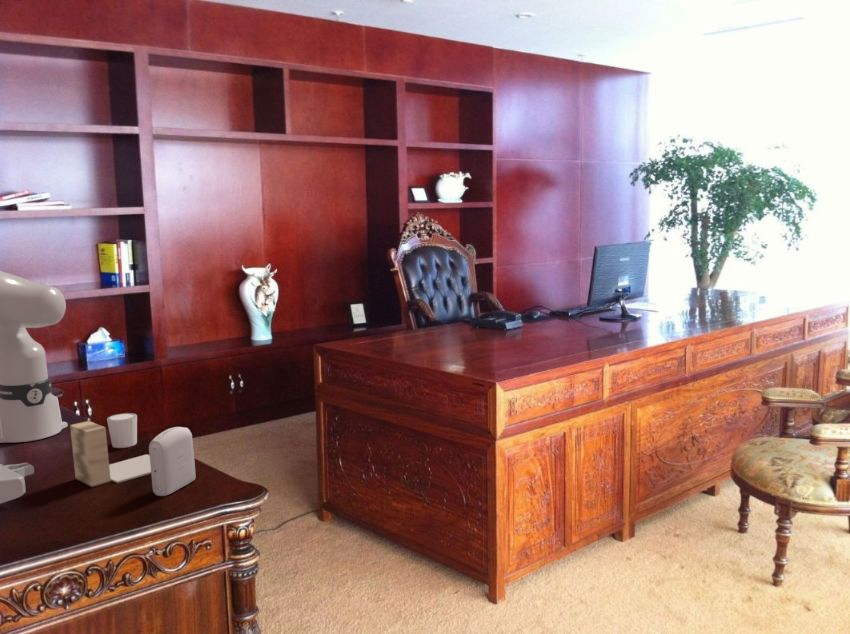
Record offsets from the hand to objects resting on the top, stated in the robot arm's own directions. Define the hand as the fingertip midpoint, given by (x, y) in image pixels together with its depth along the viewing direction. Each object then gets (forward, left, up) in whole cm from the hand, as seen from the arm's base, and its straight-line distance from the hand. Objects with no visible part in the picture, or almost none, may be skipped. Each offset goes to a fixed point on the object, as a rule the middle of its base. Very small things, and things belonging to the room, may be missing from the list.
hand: (31, 467), depth 162 cm
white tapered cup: (-19, +29, -6) cm, 35 cm away
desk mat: (0, +21, -6) cm, 22 cm away
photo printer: (+18, +21, -6) cm, 28 cm away
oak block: (0, +12, -6) cm, 14 cm away
